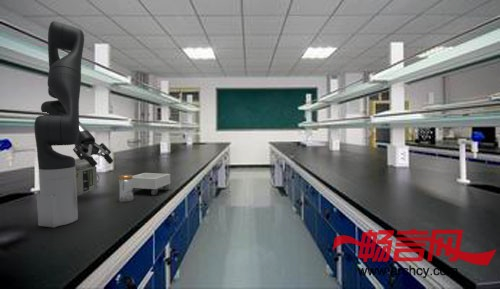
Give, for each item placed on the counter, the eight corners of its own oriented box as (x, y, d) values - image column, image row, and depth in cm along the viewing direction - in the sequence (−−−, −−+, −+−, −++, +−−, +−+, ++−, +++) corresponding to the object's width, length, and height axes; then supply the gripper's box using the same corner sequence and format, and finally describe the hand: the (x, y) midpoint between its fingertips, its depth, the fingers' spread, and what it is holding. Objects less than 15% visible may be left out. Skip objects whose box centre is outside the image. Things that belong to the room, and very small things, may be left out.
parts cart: (155, 196, 113) (155, 178, 112) (127, 194, 116) (127, 177, 116) (170, 189, 124) (170, 174, 124) (144, 188, 128) (144, 172, 127)
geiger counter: (69, 165, 108) (104, 158, 132) (54, 165, 108) (92, 158, 133) (71, 199, 108) (105, 185, 133) (56, 199, 109) (93, 185, 134)
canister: (127, 202, 104) (126, 177, 103) (116, 201, 105) (115, 176, 105) (135, 198, 109) (135, 174, 108) (125, 198, 110) (124, 174, 109)
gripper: (69, 129, 103) (94, 159, 101) (98, 129, 117) (121, 155, 115) (59, 143, 105) (84, 172, 103) (89, 141, 118) (111, 167, 116)
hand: (103, 163), depth 109 cm, fingers open, 8 cm apart
